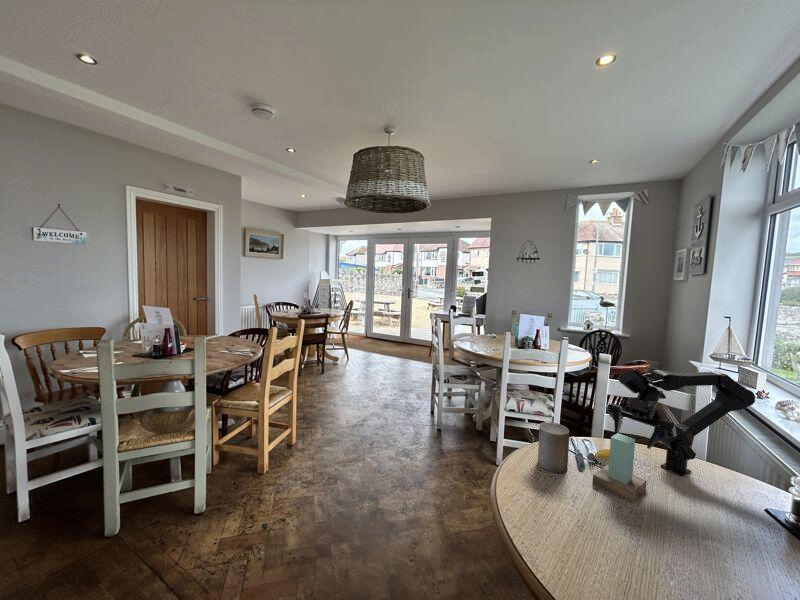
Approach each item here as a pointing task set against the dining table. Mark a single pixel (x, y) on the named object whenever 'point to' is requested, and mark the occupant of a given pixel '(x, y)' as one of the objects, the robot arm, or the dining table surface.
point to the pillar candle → (553, 447)
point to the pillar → (621, 458)
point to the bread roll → (603, 456)
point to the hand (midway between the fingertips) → (631, 441)
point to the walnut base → (619, 485)
